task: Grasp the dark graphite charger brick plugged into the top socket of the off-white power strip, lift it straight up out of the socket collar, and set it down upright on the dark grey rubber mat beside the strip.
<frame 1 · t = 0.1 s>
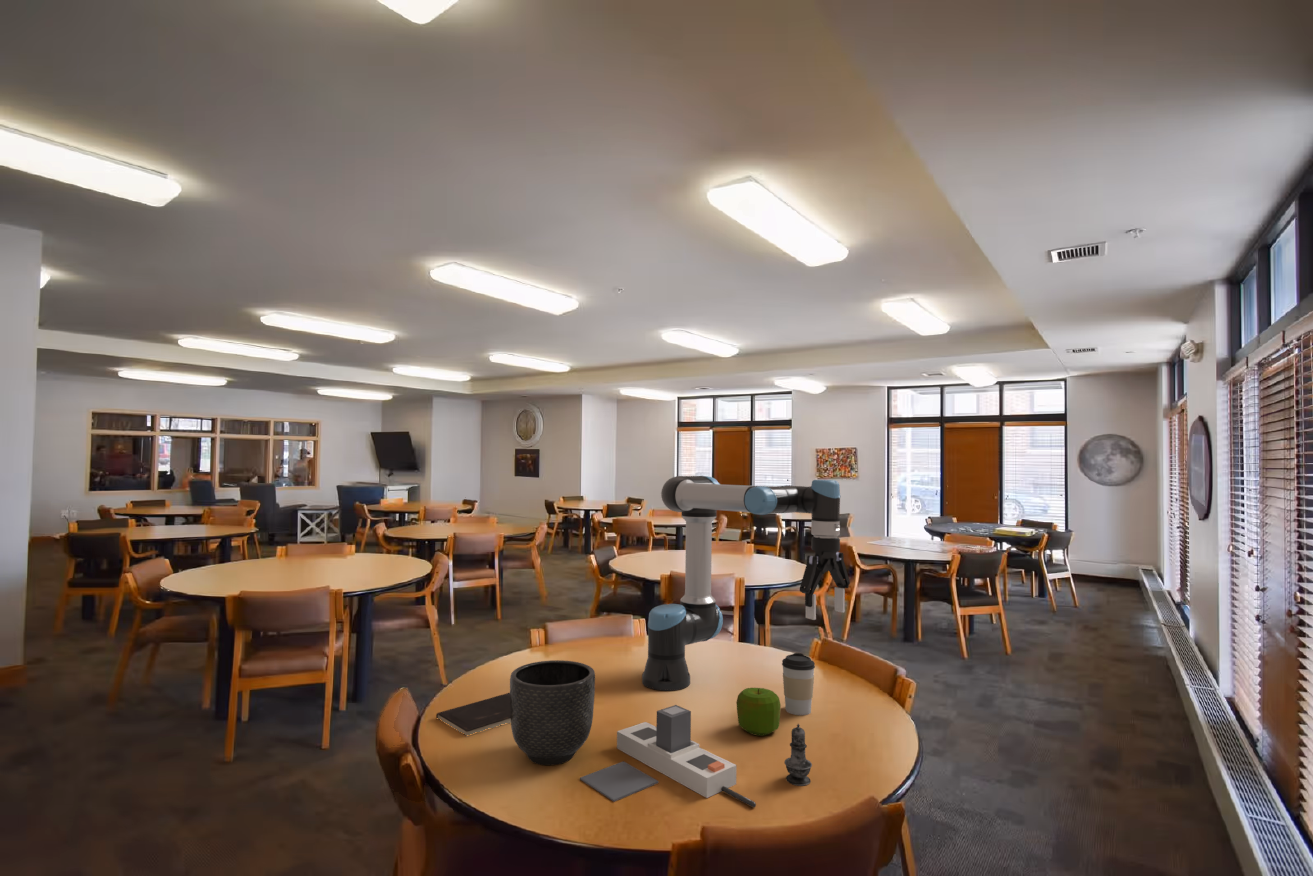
hand: (825, 615, 173), 28 cm above the table, fingers open, 13 cm apart
planter: (551, 756, 149), on the table
coffee cup: (798, 711, 179), on the table
grey chess piece: (798, 780, 139), on the table
strip: (673, 765, 145), on the table
hardcover book: (490, 718, 172), on the table
apple: (758, 731, 165), on the table
charger: (673, 747, 145), point 4 cm above the table, touching strip
mat: (619, 781, 137), on the table
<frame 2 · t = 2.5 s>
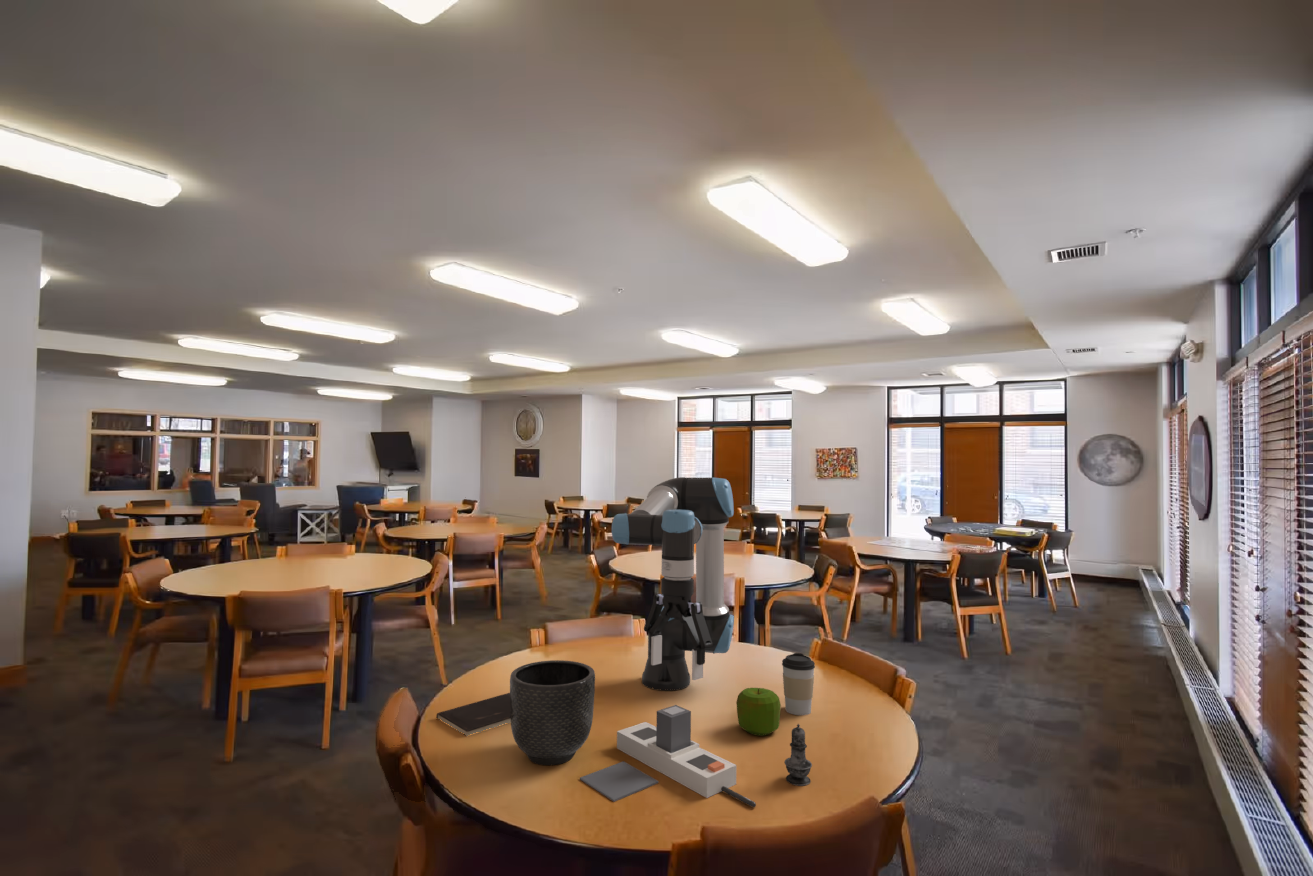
hand: (676, 671, 146), 21 cm above the table, fingers open, 13 cm apart
nothing on the table moved.
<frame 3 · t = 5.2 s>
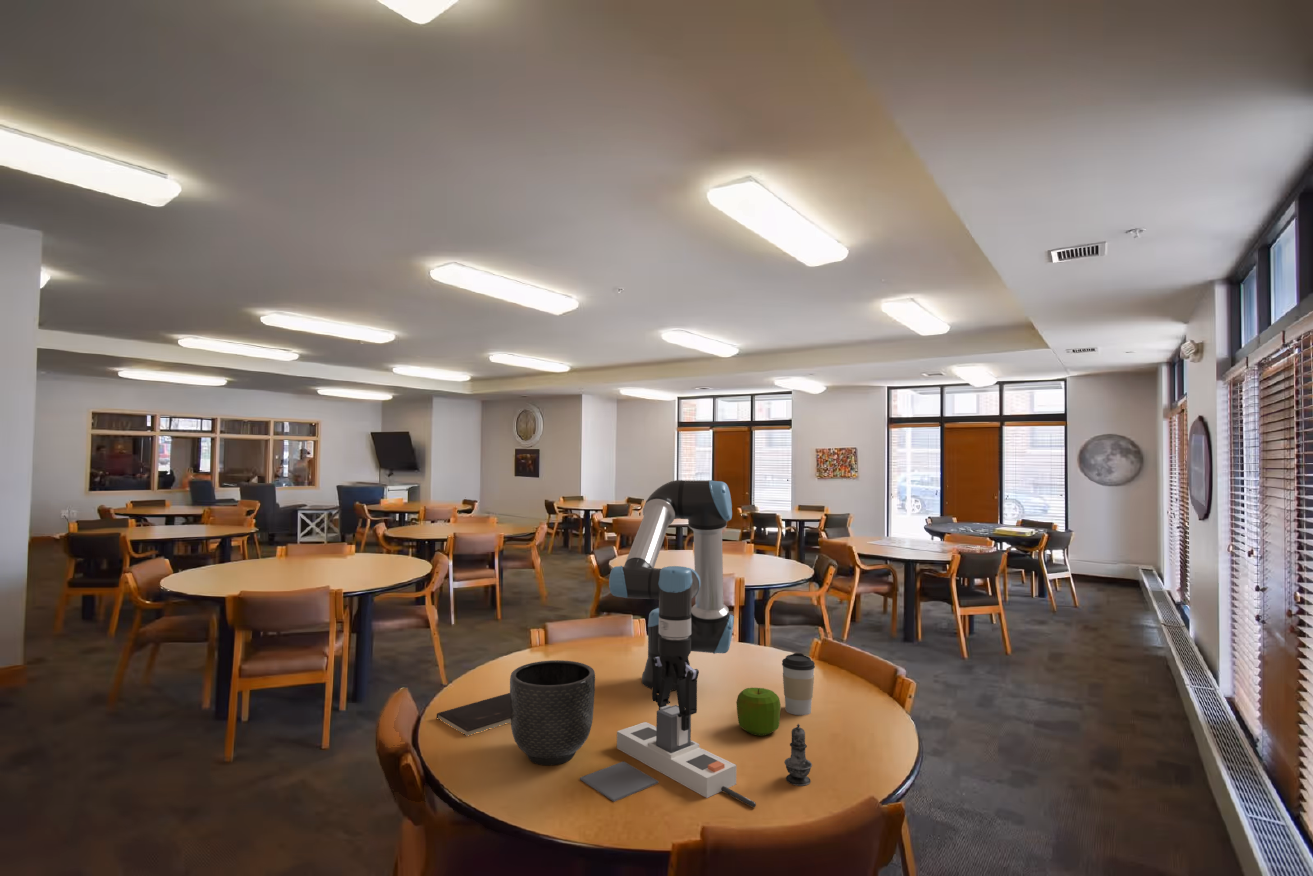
hand: (673, 739, 145), 6 cm above the table, fingers closed on charger, 5 cm apart
charger: (673, 747, 145), point 4 cm above the table, touching gripper, strip
everything else where it was.
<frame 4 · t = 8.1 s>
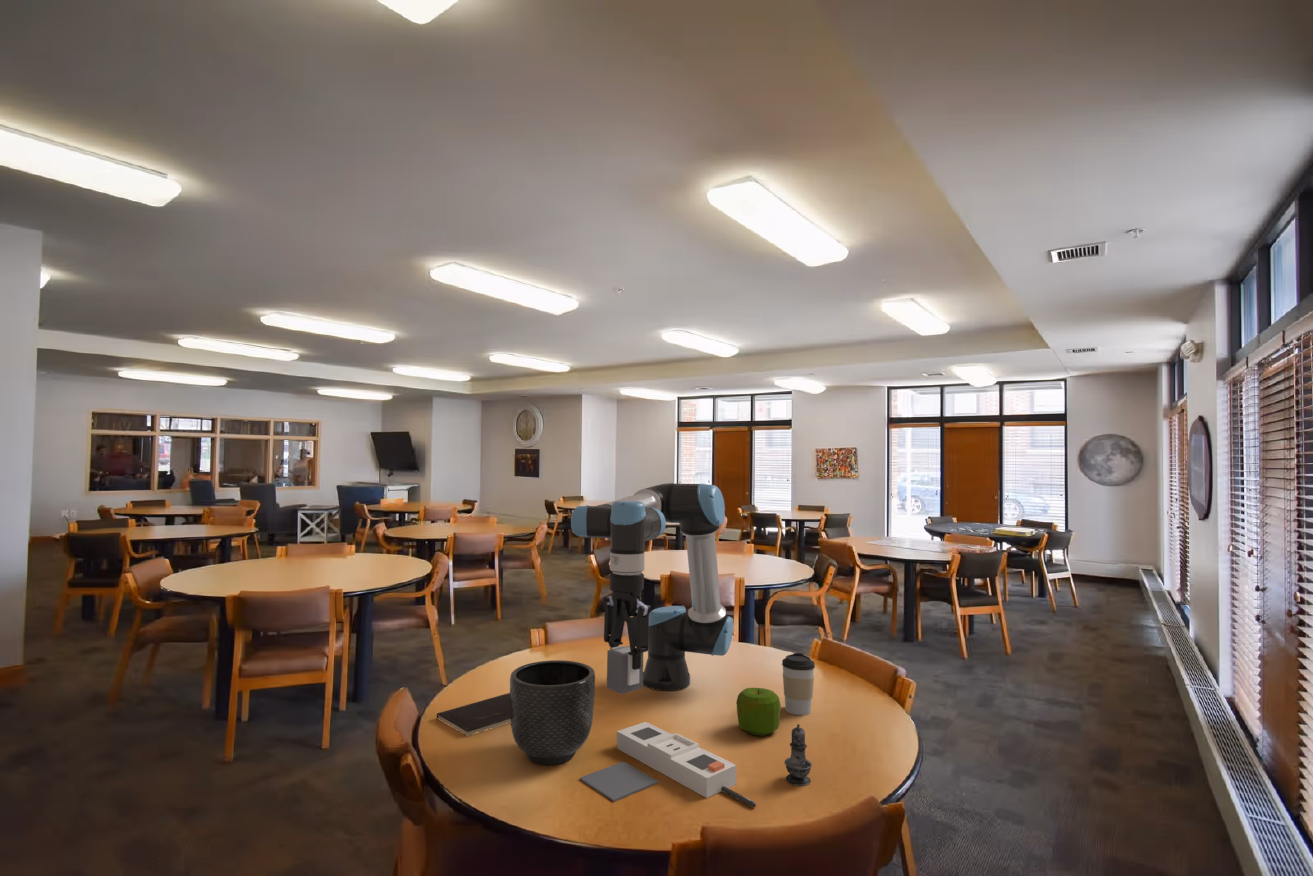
hand: (624, 680, 138), 21 cm above the table, fingers closed on charger, 5 cm apart
charger: (624, 688, 138), point 20 cm above the table, touching gripper
everything else where it was.
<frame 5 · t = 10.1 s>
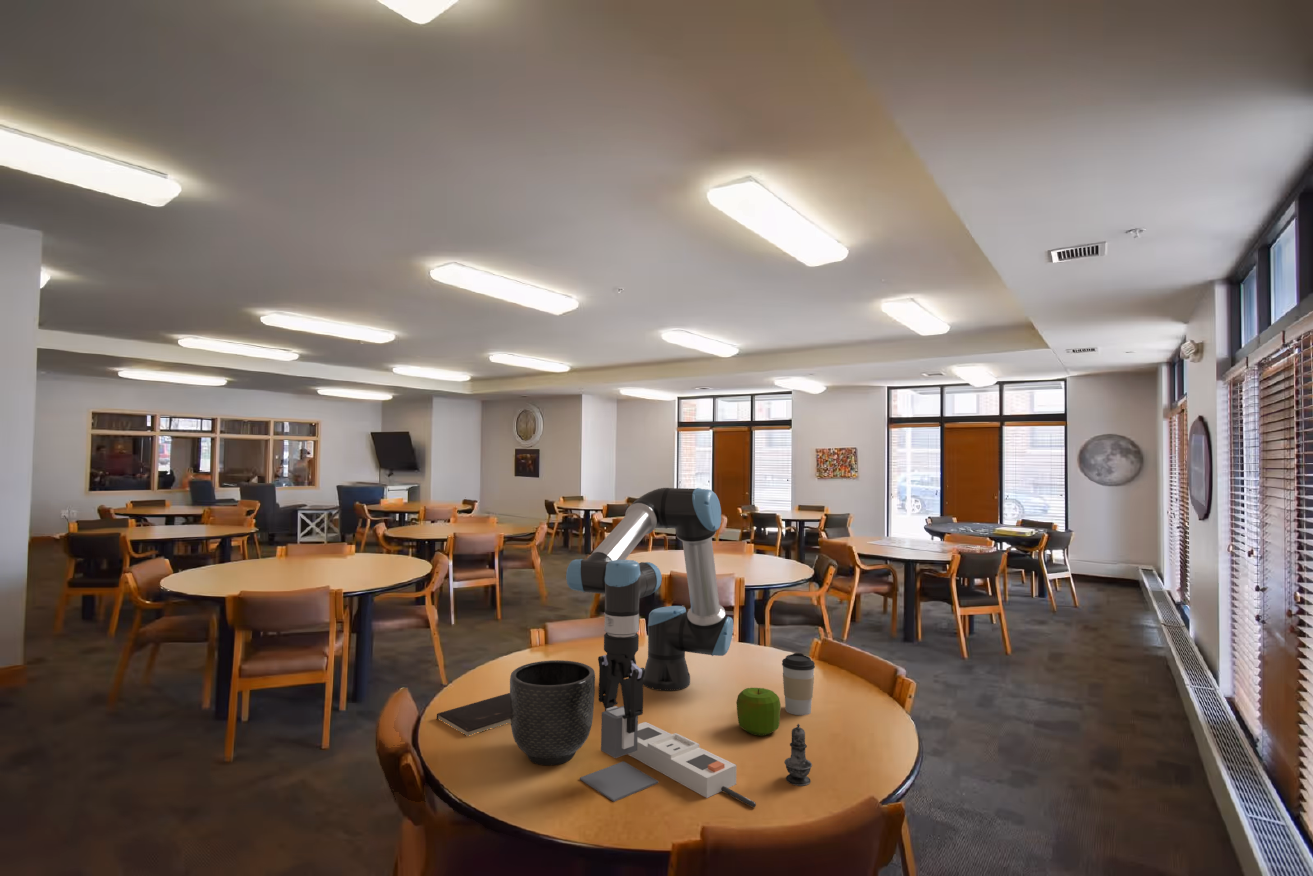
hand: (619, 742, 137), 8 cm above the table, fingers closed on charger, 5 cm apart
charger: (619, 750, 137), point 7 cm above the table, touching gripper
everything else where it was.
when the fingers open (4 cm above the table, at t = 11.5 s): charger drops 2 cm, resting on mat.
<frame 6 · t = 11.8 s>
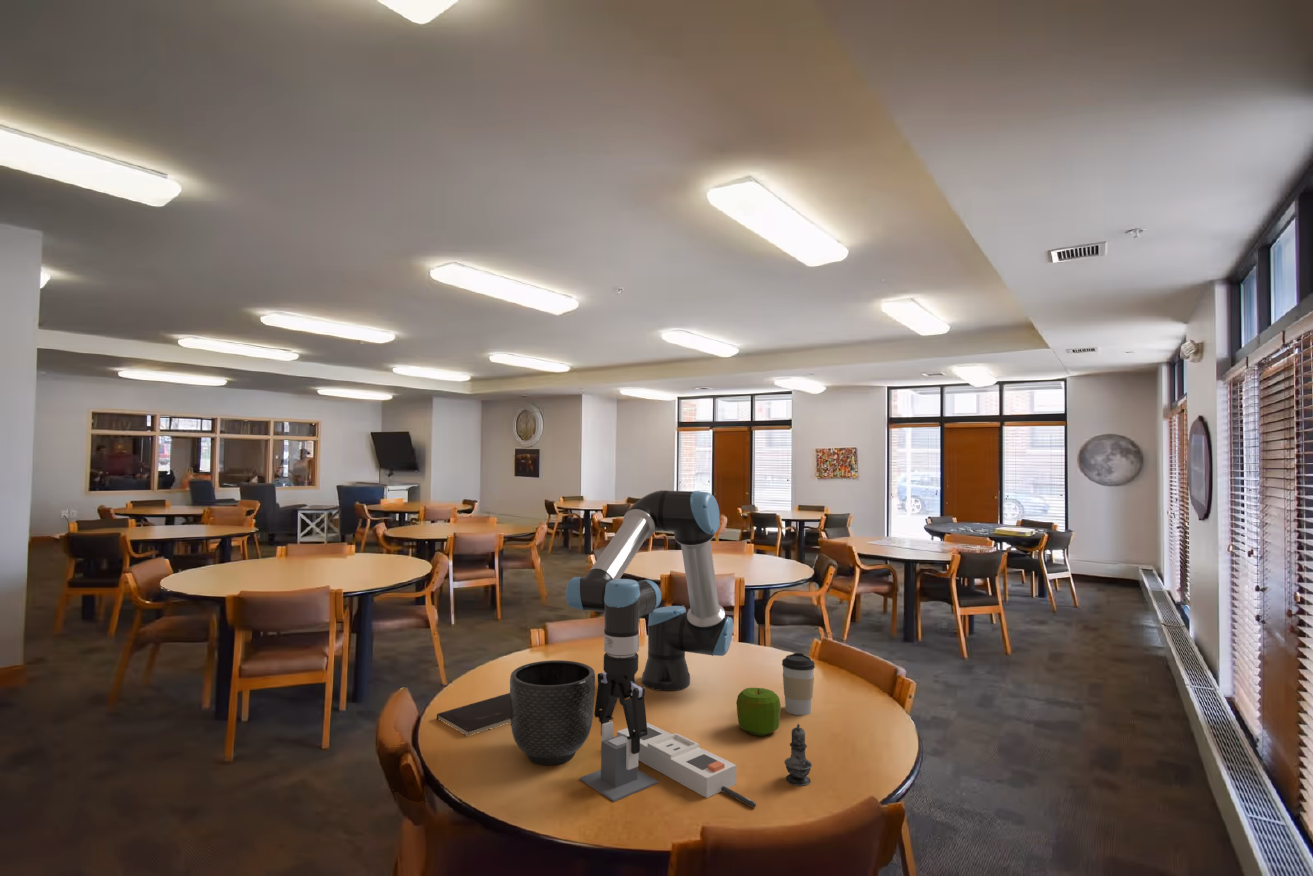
hand: (619, 760, 137), 4 cm above the table, fingers open, 8 cm apart
charger: (619, 779, 137), resting on mat
everything else where it was.
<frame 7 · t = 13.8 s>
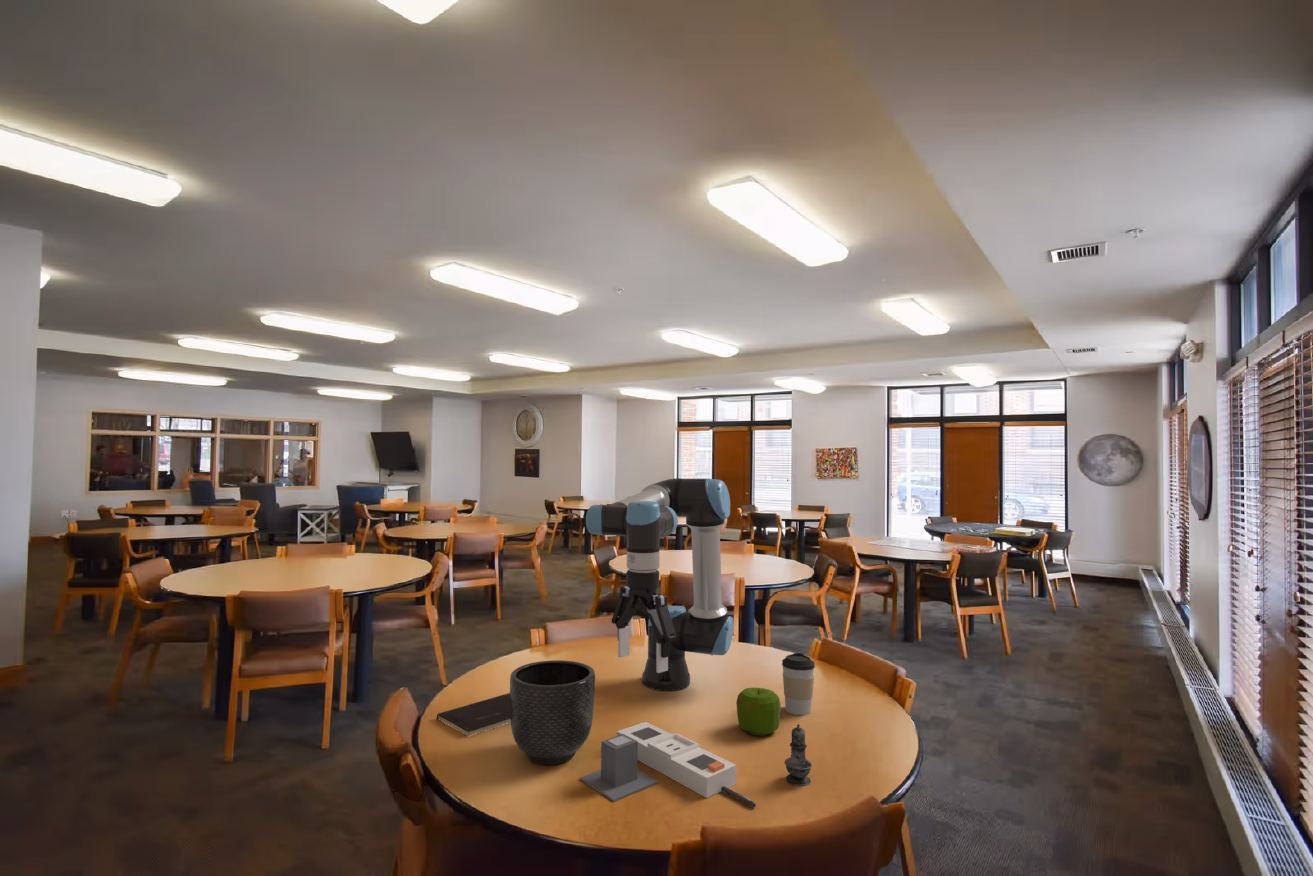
hand: (642, 663, 145), 23 cm above the table, fingers open, 13 cm apart
nothing on the table moved.
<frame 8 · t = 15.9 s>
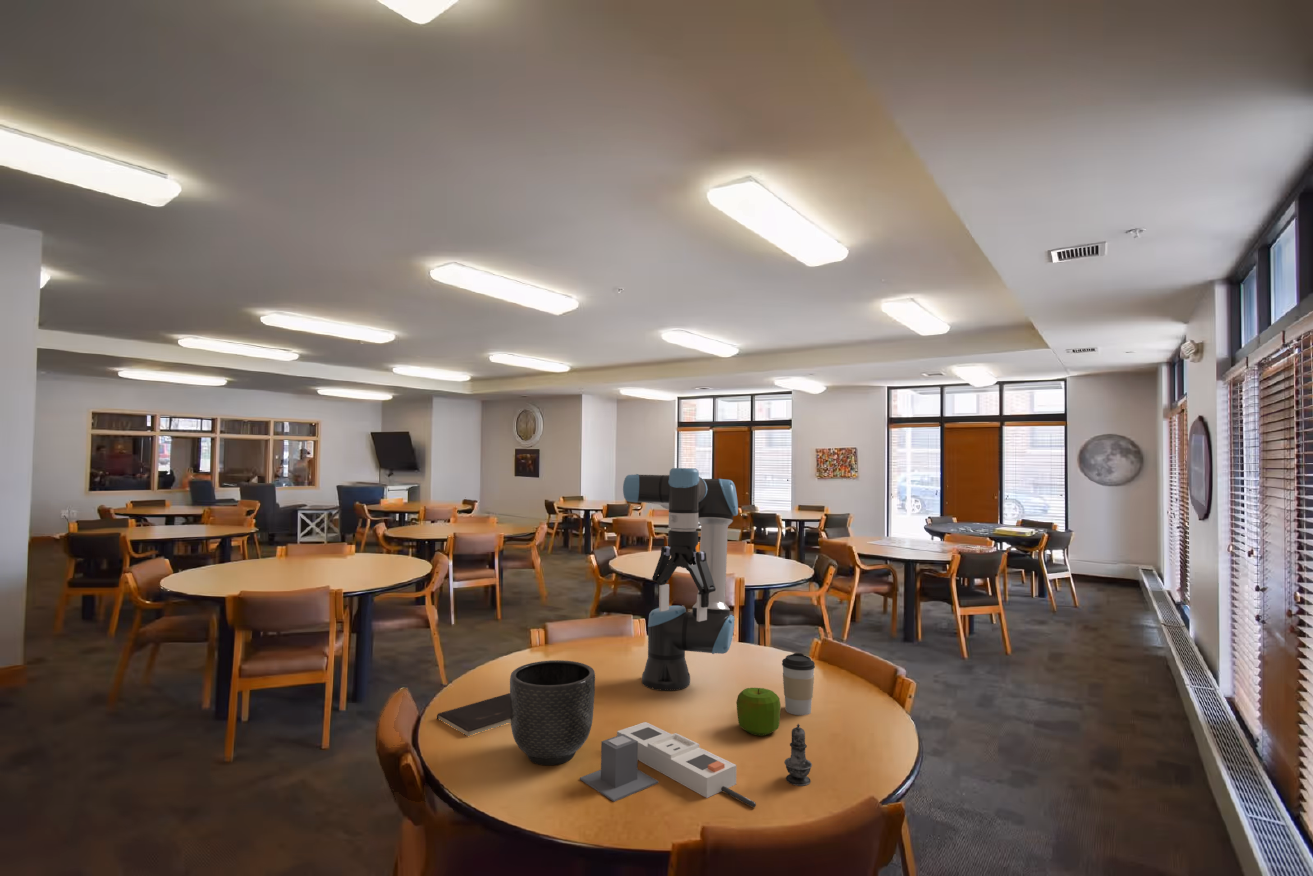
hand: (682, 615, 159), 31 cm above the table, fingers open, 13 cm apart
nothing on the table moved.
at the end: charger inside the target area (0.0 cm from its centre), resting on mat; charger touching mat; charger tilted 0° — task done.
